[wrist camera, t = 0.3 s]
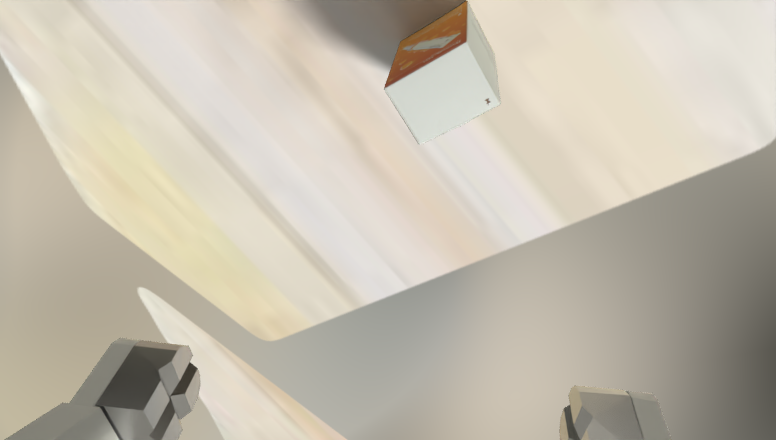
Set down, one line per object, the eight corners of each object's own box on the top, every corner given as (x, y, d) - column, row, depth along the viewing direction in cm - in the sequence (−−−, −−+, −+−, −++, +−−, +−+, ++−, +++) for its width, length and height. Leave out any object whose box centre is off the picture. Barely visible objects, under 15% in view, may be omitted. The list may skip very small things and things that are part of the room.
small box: (467, -2, 49) (468, 39, 39) (495, 54, 52) (503, 105, 42) (397, 41, 53) (381, 89, 42) (428, 91, 56) (419, 147, 45)
